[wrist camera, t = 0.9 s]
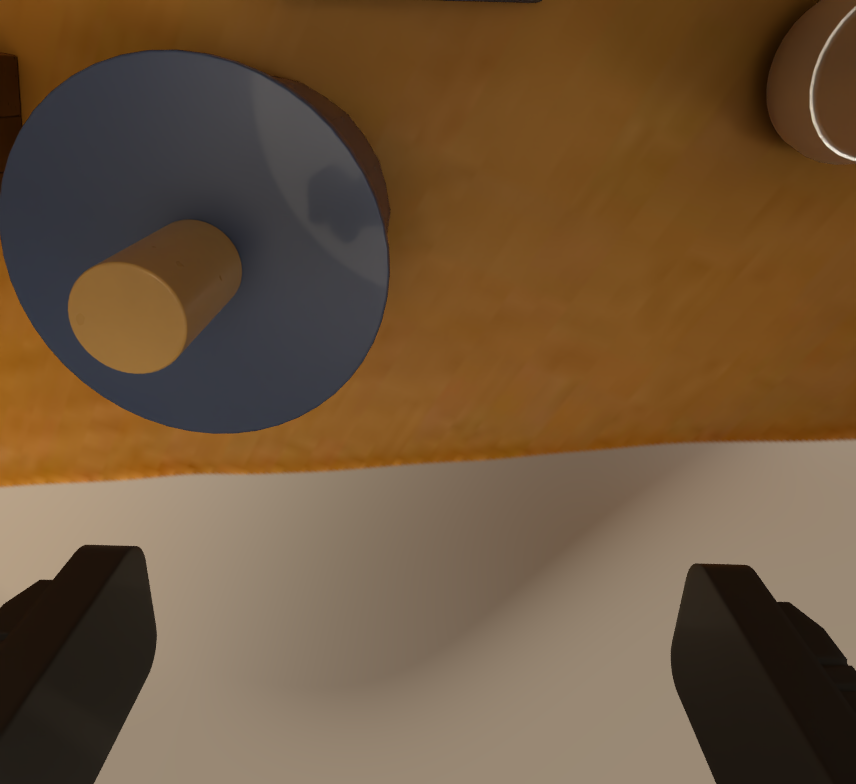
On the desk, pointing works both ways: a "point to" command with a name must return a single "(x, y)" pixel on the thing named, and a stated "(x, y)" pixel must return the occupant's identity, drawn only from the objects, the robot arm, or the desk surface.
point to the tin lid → (194, 241)
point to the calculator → (523, 0)
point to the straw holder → (8, 108)
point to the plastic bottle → (817, 84)
